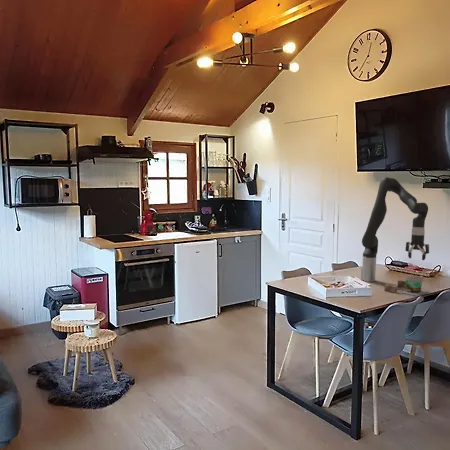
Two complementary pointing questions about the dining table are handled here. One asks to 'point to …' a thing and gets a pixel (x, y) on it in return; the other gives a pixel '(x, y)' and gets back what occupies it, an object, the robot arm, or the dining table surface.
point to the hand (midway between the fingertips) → (416, 259)
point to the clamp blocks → (394, 288)
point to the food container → (414, 284)
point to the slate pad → (415, 293)
